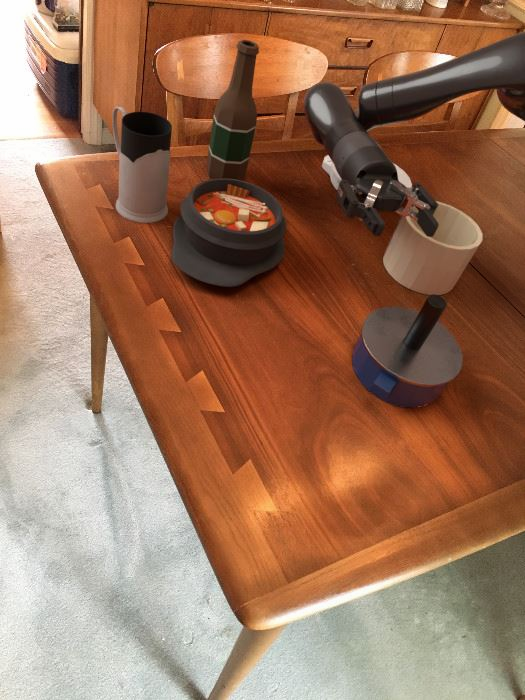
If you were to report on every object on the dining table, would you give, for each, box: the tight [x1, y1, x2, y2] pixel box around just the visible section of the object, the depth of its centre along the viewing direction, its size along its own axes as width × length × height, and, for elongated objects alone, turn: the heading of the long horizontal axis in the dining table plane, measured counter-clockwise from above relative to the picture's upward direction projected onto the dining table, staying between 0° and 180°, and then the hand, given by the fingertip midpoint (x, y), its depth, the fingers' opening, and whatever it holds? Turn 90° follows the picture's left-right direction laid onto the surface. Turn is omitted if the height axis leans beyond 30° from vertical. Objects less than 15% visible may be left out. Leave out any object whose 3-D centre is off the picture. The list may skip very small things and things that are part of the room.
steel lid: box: [360, 294, 464, 387], centre depth 75 cm, size 15×15×9 cm
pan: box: [351, 319, 448, 408], centre depth 79 cm, size 14×19×5 cm
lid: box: [321, 154, 413, 204], centre depth 116 cm, size 17×20×3 cm
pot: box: [382, 200, 483, 296], centre depth 96 cm, size 14×14×10 cm
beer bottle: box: [206, 39, 260, 181], centre depth 99 cm, size 8×8×24 cm
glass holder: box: [112, 106, 173, 224], centre depth 91 cm, size 9×14×15 cm, turn 39°
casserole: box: [170, 178, 287, 288], centre depth 89 cm, size 25×19×8 cm
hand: (407, 231), depth 76 cm, fingers open, 8 cm apart
